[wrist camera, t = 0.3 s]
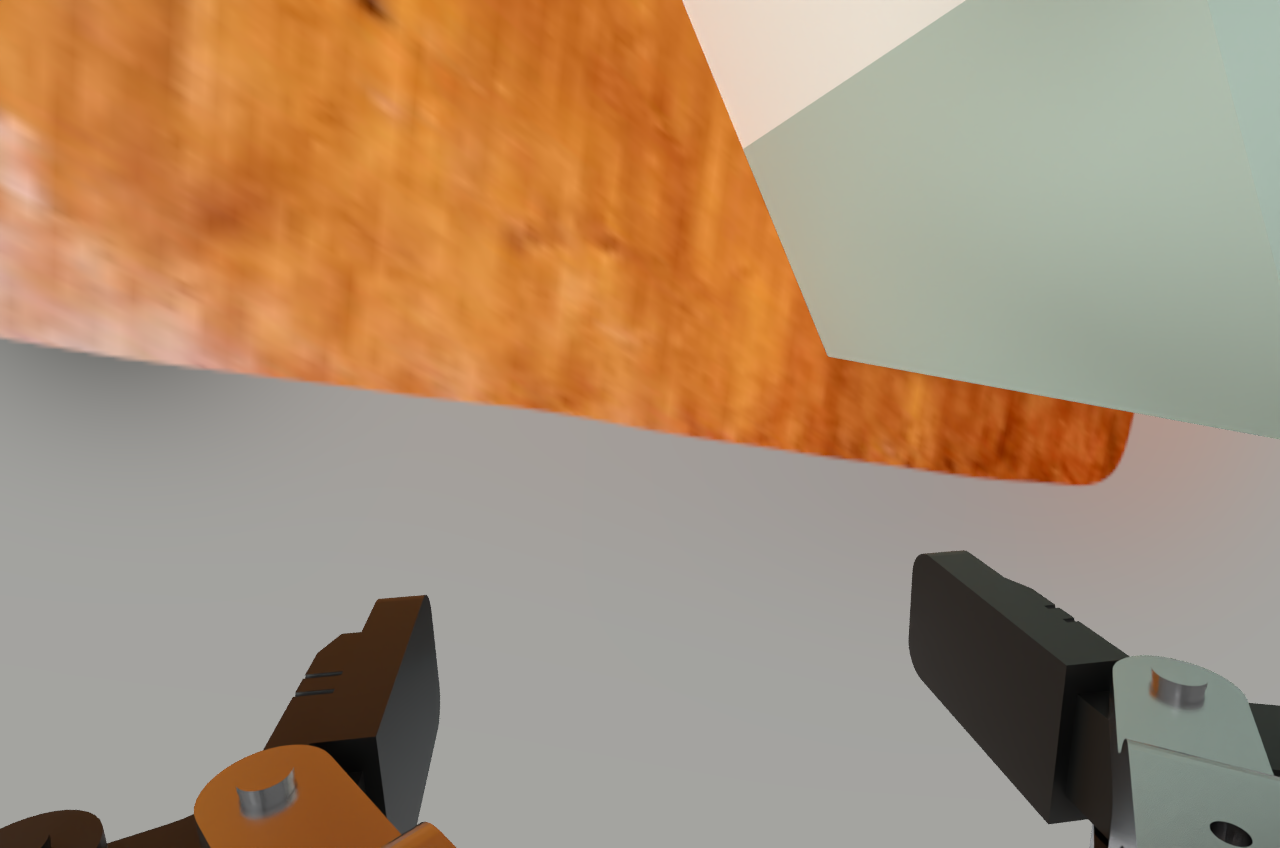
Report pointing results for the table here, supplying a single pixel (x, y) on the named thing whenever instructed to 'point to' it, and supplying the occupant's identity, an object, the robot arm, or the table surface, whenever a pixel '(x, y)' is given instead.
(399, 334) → the table surface
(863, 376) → the table surface
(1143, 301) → the stepped stand
